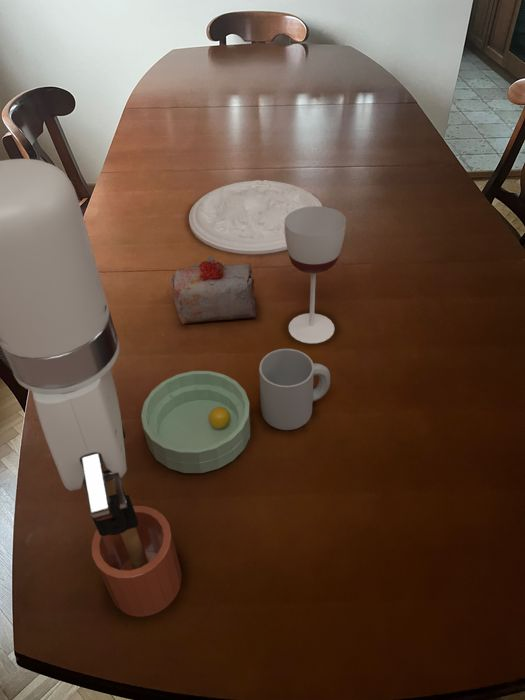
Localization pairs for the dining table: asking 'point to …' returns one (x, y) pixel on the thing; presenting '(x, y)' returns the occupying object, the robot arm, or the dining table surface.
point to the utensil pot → (151, 579)
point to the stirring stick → (130, 537)
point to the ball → (219, 417)
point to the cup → (290, 387)
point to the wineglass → (313, 261)
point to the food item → (214, 292)
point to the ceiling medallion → (248, 216)
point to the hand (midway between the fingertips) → (113, 481)
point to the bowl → (196, 421)
